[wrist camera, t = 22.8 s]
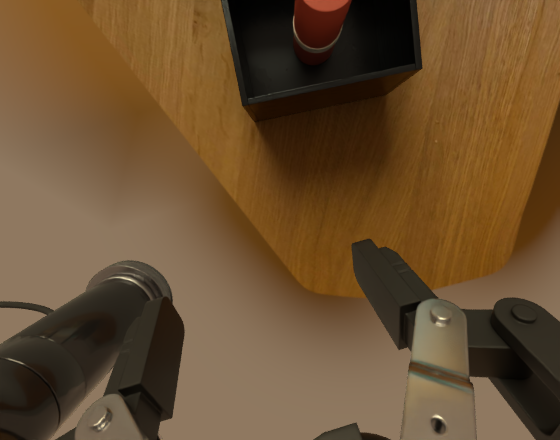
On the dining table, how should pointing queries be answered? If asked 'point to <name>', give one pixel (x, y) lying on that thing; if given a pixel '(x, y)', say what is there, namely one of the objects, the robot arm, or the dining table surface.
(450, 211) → the dining table surface
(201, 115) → the dining table surface
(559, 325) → the robot arm
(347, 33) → the bin
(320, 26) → the striped red cylinder
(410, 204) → the dining table surface
